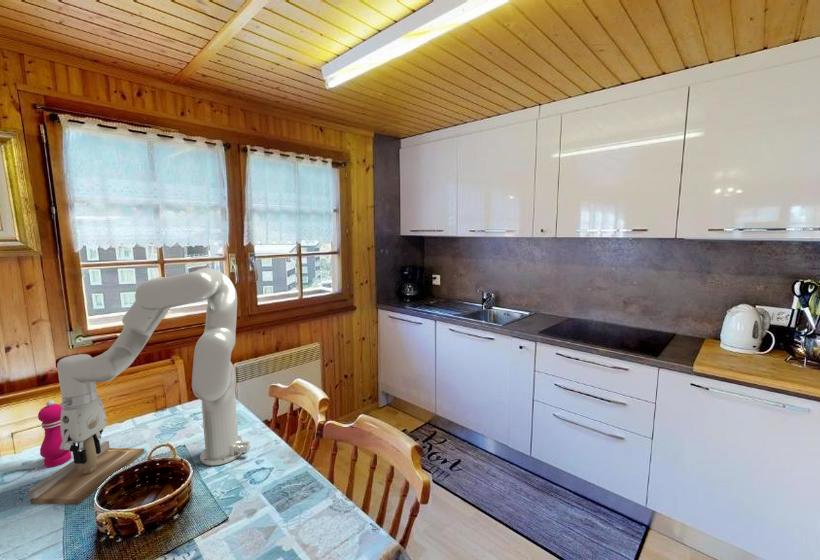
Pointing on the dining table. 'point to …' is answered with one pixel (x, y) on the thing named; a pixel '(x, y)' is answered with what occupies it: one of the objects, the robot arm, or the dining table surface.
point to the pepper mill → (52, 435)
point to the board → (82, 477)
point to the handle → (89, 453)
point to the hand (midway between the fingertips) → (87, 457)
